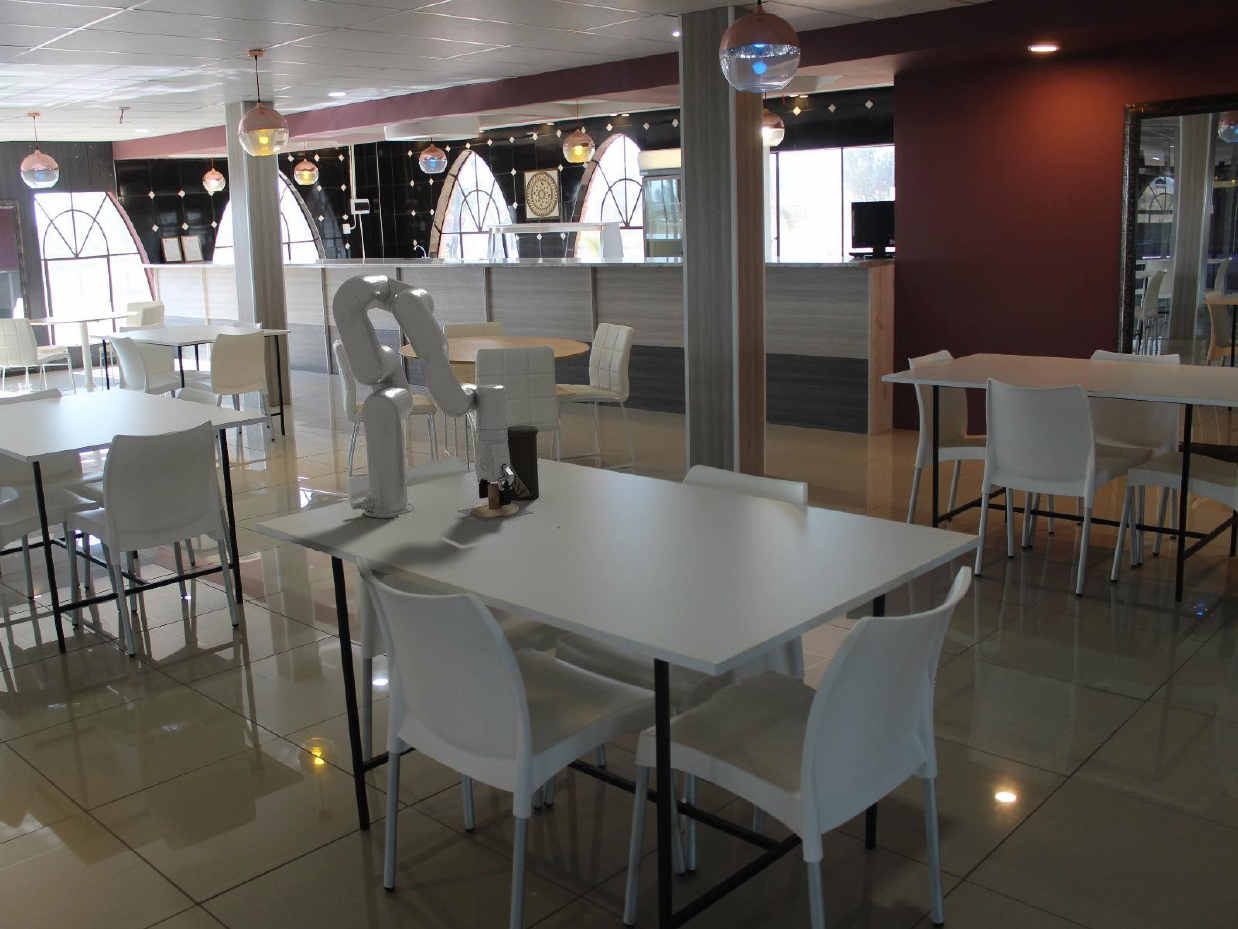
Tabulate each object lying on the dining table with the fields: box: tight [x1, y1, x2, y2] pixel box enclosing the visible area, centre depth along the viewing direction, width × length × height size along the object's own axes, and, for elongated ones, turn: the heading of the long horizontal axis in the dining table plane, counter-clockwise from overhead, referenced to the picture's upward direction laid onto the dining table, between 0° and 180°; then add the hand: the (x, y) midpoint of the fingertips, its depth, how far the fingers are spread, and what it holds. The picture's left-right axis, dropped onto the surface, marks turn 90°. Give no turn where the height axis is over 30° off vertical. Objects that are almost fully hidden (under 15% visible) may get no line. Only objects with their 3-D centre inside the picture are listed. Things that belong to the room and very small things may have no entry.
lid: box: [470, 482, 520, 518], centre depth 278 cm, size 12×12×7 cm
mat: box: [457, 507, 534, 523], centre depth 279 cm, size 14×14×1 cm
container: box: [507, 424, 540, 502], centre depth 292 cm, size 9×9×20 cm
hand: (494, 501), depth 278 cm, fingers open, 9 cm apart
